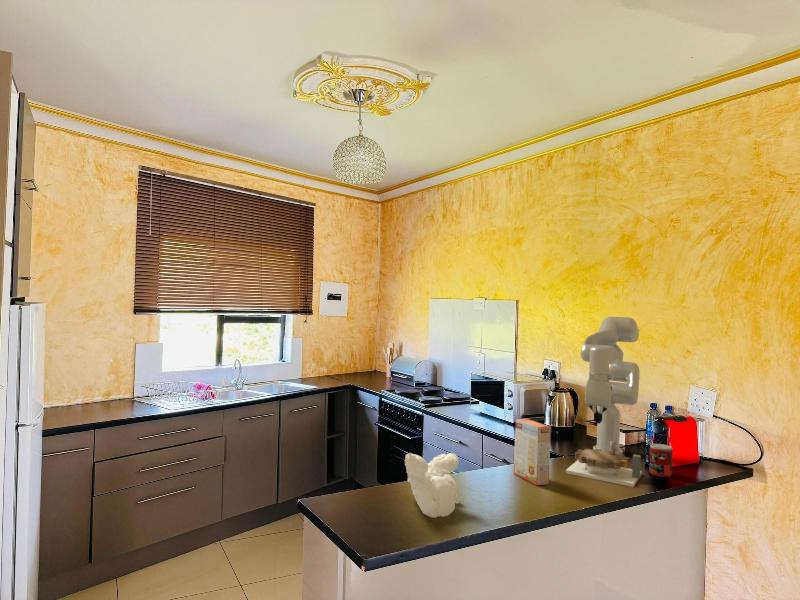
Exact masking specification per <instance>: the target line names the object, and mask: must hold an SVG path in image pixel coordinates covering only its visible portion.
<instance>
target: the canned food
mask: <svg viewBox="0 0 800 600" xmlns="http://www.w3.org/2000/svg"><path fill="white" fill-rule="evenodd" d="M649 446H650V447H649V469H648V471H649V473H650V474H651V475H653V476H656V477H660V478H661V477H662V478H671V477H672V474H673V454H674V453H673V451H674V450H673V447H672V446H671V445H667V444H662V443H651V444H650V445H649Z"/></svg>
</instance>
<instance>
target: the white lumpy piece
mask: <svg viewBox="0 0 800 600" xmlns="http://www.w3.org/2000/svg"><path fill="white" fill-rule="evenodd" d="M459 463H460V461H459V458H458V455H457V454H456V453H454V452H453V453H451V452H449V453H448V454H446V453H440V454H438V455H437V456H434V457H433V458H432V460H430V461H429V462H427V461H426V460H425V459H424V458H423V457H422V456H420V455H418V454H414V453H412V452H409V453H407V454H405V458H404V466H405V469H406V474H407V482H408V483H410V488H411V491H412V494H413V496H414V499H415V502H416V503H417V505H418V507H419V509H420V510H421V512H422V514H423V515H425V516H427V517H429V518H431V519H432V518H434V519H436V518H439V517H442V518H443V517H448V516H449V515H451V514H452V513H453V512H454V511H455V509H456V504H459V503H460V501H459V500H456V499H458V497H459V495H458V489H459V488H458V485H457V483H456V481H455V480H454V479H453V477H452V476H451V475H450V474H452V472H454V471H455V470H456V469H457V467H458V465H459Z"/></svg>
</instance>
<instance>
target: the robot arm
mask: <svg viewBox="0 0 800 600" xmlns="http://www.w3.org/2000/svg"><path fill="white" fill-rule="evenodd" d="M639 336H640V329H639V327H638V324H637V322H636V321H635V319H634V318H632V317H628V316H607V317H605V318H603V320H602V322H601V325H600V327H599V329H598V332H595V333H593V334H590V335H588V336H586V338H585V339H584V340H583V343H582V344H581V345H582V346H581V350H580V357H581V360H582V361H584V362H586V363H589V366H588V367H589V368H588V369H589V371H588V372H589V373H588V379H587V381H586V385H585V393H584V405H583V406H584V407H586V408H588V409H590V410H591V411H592V413H593V421H594V423H595V424H597V429H596V430H597V431H596V444H595V445H594V446H592V450H596V449H601V450H602V451H610V441H615V442H616V447H615V453H616V454H622V455H623V453H624V451H623V449H622V448H620V437H621V436H620V435H621V433H620V432H621V412H620V409H618V407H617V406H616V404H617V405H627V406H635V405H636V404H637V403H638V400H639V390H640V389H639V388H640V377H641V374H640V366H639V365H638V364H637V363H636V362H632V361H624V351H623V350H622V348H621V346H619V345H618V344H617V343H618V342H619V343H636V342H637V341H638V340H639Z"/></svg>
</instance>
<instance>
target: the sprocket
mask: <svg viewBox="0 0 800 600" xmlns="http://www.w3.org/2000/svg"><path fill="white" fill-rule="evenodd" d="M615 447H616V442H615V441H610V451H602V450H601V449H596V450H593V449H591V448H584V450H583V449H577V450H576V451H575V456H574V457H575V461H577V460H578V462H580V463H586V464H588V466H592V467H594V466H598V467H601V468H604V469H608V468H614V469H621V467H622V468H627V469H628V466H629V465H630V463H629V462H630V458H629V457H627V456H625V454H623V453H622V454H616V453H615Z"/></svg>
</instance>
